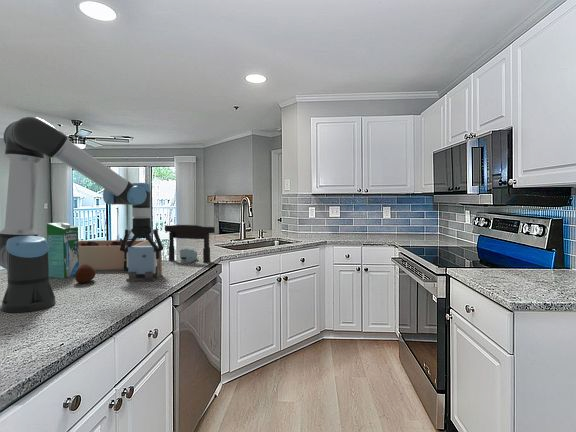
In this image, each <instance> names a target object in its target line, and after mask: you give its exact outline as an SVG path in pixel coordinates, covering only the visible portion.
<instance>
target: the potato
mask: <svg viewBox="0 0 576 432" xmlns="http://www.w3.org/2000/svg"><path fill="white" fill-rule="evenodd" d="M95 276H96V270H94V268H93V267H92V266H90V265H86V264H85V265H82V266H80V267H79V268H78V270H77V271H76V273H75V276H74V280H75V281H76V282H77V283H78V284H84V283H88V282H91V281H92V280H94V278H95Z"/></svg>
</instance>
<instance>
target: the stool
mask: <svg viewBox="0 0 576 432" xmlns="http://www.w3.org/2000/svg"><path fill="white" fill-rule="evenodd" d="M215 230H216V229H215V226H202V225H197V224H173V225H164V231H165V232H167V233H169V234H168V235H169V239H168V241H169V245H168V261H172V262H173V261H175V258H176V257H175V256H176V255H175V254H176V253H175V246H174V245H175V242H174V241H175V240H174V239H189V240H203V248H202V250H203V253H202V256H203V257H202V259H203V260H202V261H203V263H209V262H211V247H210V234H214V233H215ZM179 258H180V263H181V264H187V263H189V264H190V263H191V262H192V263H193V262H195V261H196V262H197V261H198V260H199V259H198V252H197V251H196V250H195V249H194V248H190V247H188V248H183V249H180V250H179Z"/></svg>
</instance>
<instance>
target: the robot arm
mask: <svg viewBox="0 0 576 432" xmlns="http://www.w3.org/2000/svg"><path fill="white" fill-rule="evenodd" d="M69 139H70V138H69V136H68V135H67V134H65V133H64V132H62V131H61V130H59V129H58V128H56V127H55V126H54V125H52V124H51V123H49V122H48V121H46V120H44V119H42V118H40V117H35V116H26V117H22V118H20V119H18V120H16V121H13V122H11V123H10V124H8V126H7V127H6V128H5V130H4V132H3V141H4V142H3V143H4V145H5V152H4V156H5V157H6V158H7V159H8V160H9V168H8V169H9V170H8V180H7V192H6V195H7V196H6V203H5V204H6V206H5V207H6V208H5V221H4V227H3V229H1V230H0V266H1V267H2V269H6V274H7V275H6V276H7V277H6V278H7V288H6V289H5V293H4V296H3V298H2V302H1V311H2V312H6V313H27V312H34V311H39V310H44V309H48V308H50V307H52V306H55V305H56V295H55V294H54V290H53V288H52V286H51V283H50V277H49V264H48V250H49V247H48V242H47V238H45V237H42V236H40V235H39V233H38V232H37V231H36V230H35V229H34V224H35V211H36V197H37V186H38V185H37V184H38V175H39V174H38V173H39V172H38V171H39V164H40V163H42V162H43V161H44V159H45V157H44V155H45V156H47V157H49V158H50V159H54V158H55V159H57V160H58V161H60V162H62V163H63V164H65V165H66V166H67V167H70V168H71V169H72V170H73V171H74V170H75V171H76V172H78V173H79V174H80V175H82V176H84V177H86V178H87V179H88V180H90V181H92V182H93V183H95V184H96V185H97V186H99V187H101V188H102V189H103V192H102V199H103V202H104V203H105V204H106V205H111V206H112V205H113V206H114V205H124V206H125V205H126V206H127V205H129V206H132V207H131V210H132V212H131V213H132V228H131V229H129V228H127V229H125V230H124V236H123V239H122V240H123V242H122V244H121V247H120V251H123V252H124V258H125V259H127V267H128V247H131V246H132V245H133V243H134V242H135V240H139V239H140V240H141V239H142V240H148V241H149V245H150V246H152V247H154V250H155V251H156V252H154V267H156V266H157V259H159V252H160V251H161V252H162V251H163V250H164V246H163V243H162V241H161V238H160V236H159V229H158V228H156V229H152V227H151V218H150V217H151V187H150V184H149V183H148V182H132V183H131V181H129V180H127V179H126V178H124V177H123V176H121V175H120V174H118V173H117V172H115V171H114V170H112V169H111V168H109V167H108V166H106V164H104V163H102V162H101V161H100V160H98V159H96V158H95V157H93V156H92V155H91V154H89V153H87V152H86V151H85V150H84V149H82V148H81V147H79V146H78V145H76V144H75V143H73V142H72V141H70V140H69ZM151 233H152V234H153V235H154V239H155V241H156V242H155V241H154V239H153V238H152V236H151V235H150V234H151ZM130 234H133V236H132V238H131V239H130V240H131V241H130V242H129V244H128V245H127V247H126V248H125V246H126V243H127V240H129V237H130ZM38 235H39V236H38ZM157 246H158V247H159V248H158V247H157Z"/></svg>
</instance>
